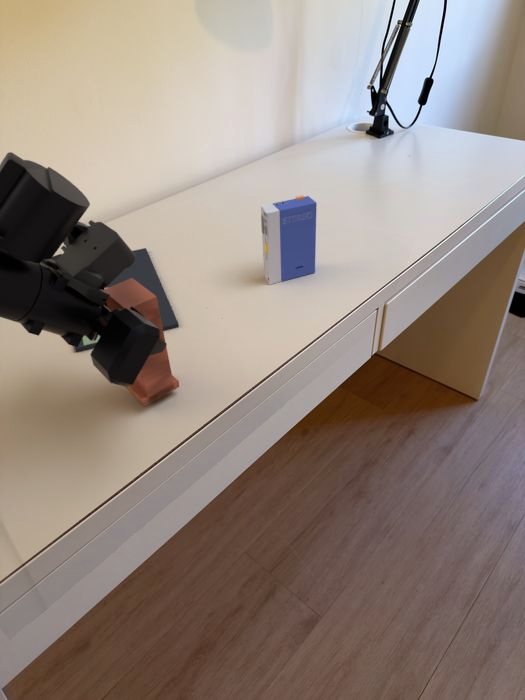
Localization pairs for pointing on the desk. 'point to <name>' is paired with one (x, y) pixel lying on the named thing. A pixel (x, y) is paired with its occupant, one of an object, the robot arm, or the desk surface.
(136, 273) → the dark blue mat
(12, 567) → the desk surface
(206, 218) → the desk surface
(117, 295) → the reddish brown square pillar
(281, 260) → the walkman
